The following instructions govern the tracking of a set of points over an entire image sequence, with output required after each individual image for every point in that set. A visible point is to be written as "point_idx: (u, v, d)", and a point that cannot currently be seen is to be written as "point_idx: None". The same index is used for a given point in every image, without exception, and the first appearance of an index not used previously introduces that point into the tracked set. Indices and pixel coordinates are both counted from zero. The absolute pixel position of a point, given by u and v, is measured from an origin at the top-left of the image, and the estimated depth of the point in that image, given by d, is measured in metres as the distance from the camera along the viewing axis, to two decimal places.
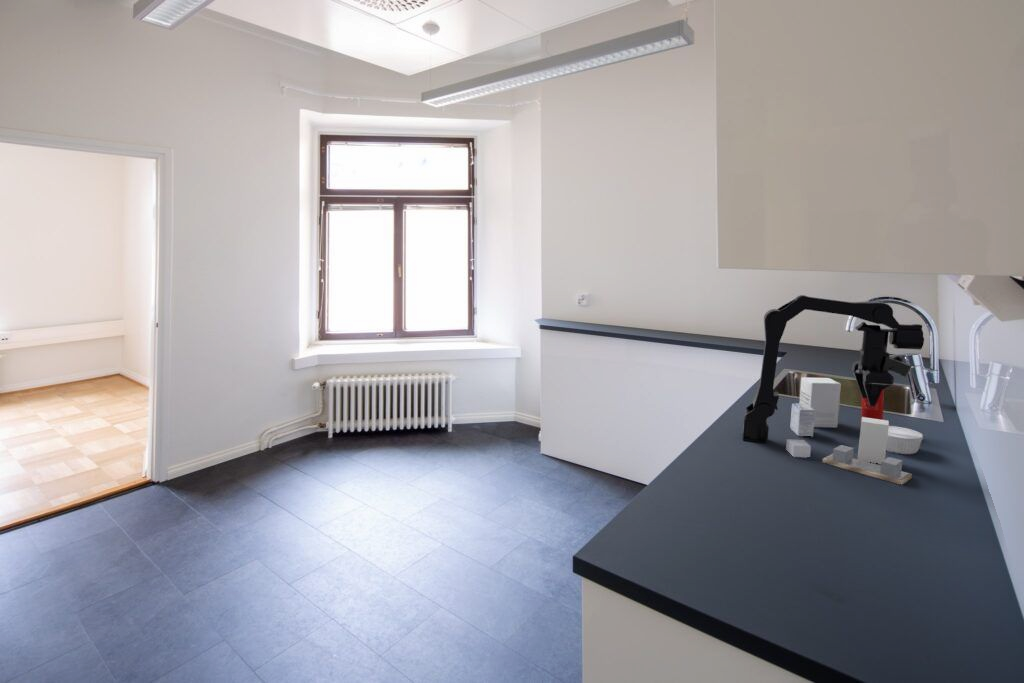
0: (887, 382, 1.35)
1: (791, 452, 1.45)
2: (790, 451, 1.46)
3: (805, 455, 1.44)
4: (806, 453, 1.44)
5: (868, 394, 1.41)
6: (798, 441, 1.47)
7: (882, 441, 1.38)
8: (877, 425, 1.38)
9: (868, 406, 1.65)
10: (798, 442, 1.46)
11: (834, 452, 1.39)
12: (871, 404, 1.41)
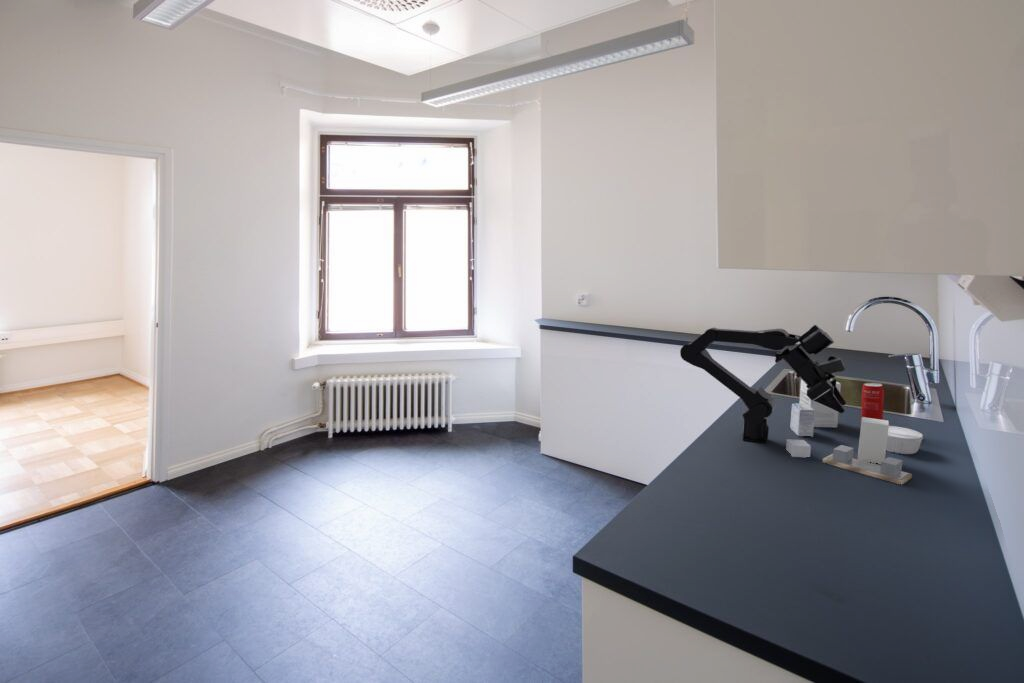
0: (825, 389, 1.38)
1: (791, 452, 1.45)
2: (790, 451, 1.46)
3: (805, 455, 1.44)
4: (806, 453, 1.44)
5: (828, 406, 1.41)
6: (798, 441, 1.47)
7: (882, 441, 1.38)
8: (877, 425, 1.38)
9: (868, 406, 1.65)
10: (798, 442, 1.46)
11: (834, 452, 1.39)
12: (840, 411, 1.41)
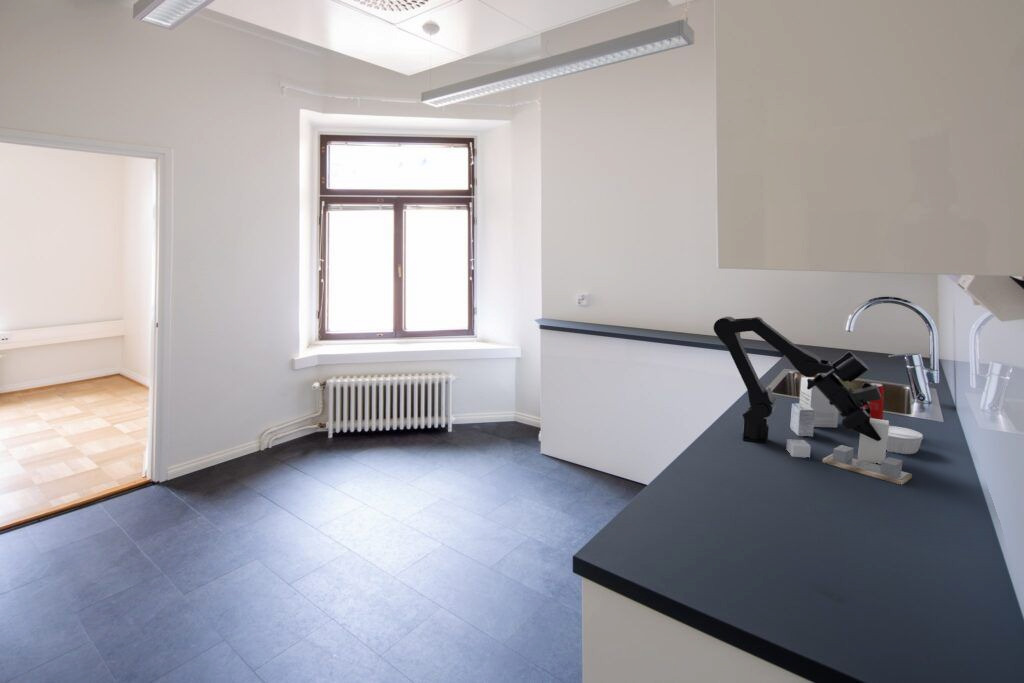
0: (862, 419, 1.34)
1: (791, 452, 1.45)
2: (790, 451, 1.46)
3: (805, 455, 1.44)
4: (806, 453, 1.44)
5: (864, 433, 1.39)
6: (798, 441, 1.47)
7: (882, 441, 1.38)
8: (878, 425, 1.38)
9: (868, 406, 1.65)
10: (798, 442, 1.46)
11: (834, 452, 1.39)
12: (877, 439, 1.38)
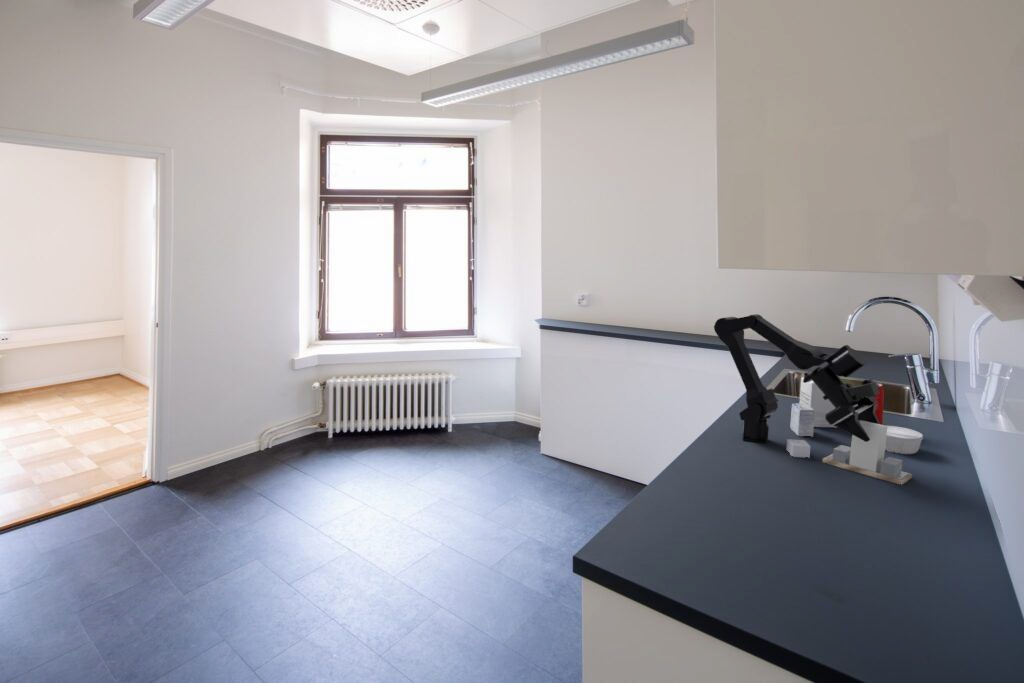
0: (843, 414, 1.30)
1: (790, 452, 1.45)
2: (790, 451, 1.46)
3: (804, 455, 1.44)
4: (805, 453, 1.44)
5: (851, 432, 1.32)
6: (798, 441, 1.47)
7: (873, 446, 1.31)
8: (869, 429, 1.31)
9: None
10: (798, 442, 1.46)
11: (834, 452, 1.39)
12: (865, 440, 1.30)
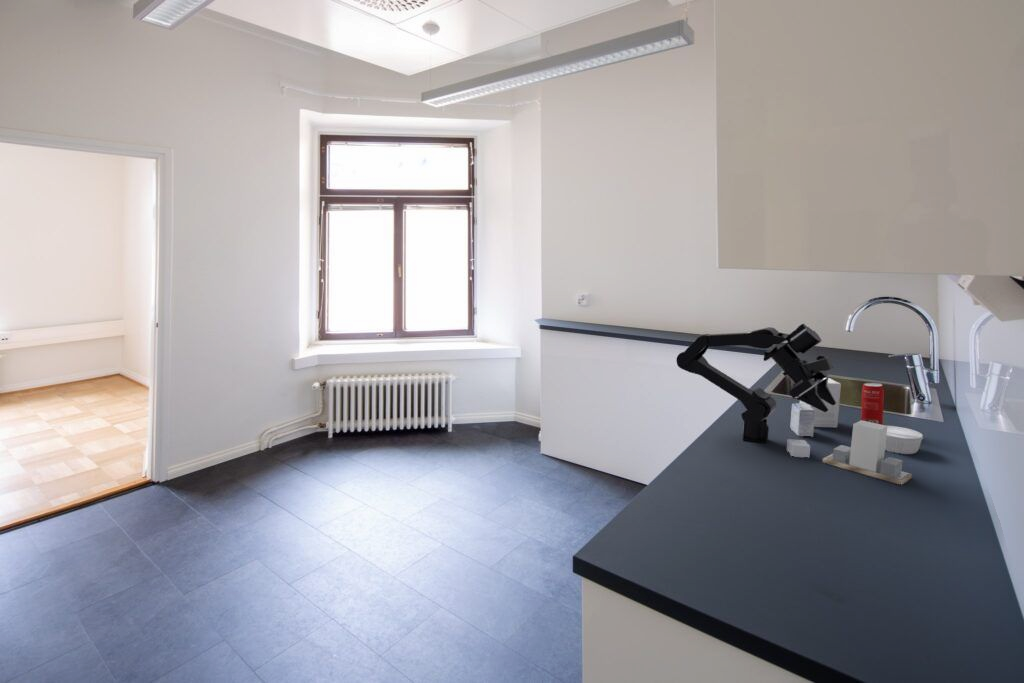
0: (806, 387, 1.39)
1: (790, 452, 1.46)
2: (789, 451, 1.46)
3: (804, 455, 1.44)
4: (805, 453, 1.44)
5: (811, 404, 1.42)
6: (798, 441, 1.47)
7: (873, 446, 1.31)
8: (869, 429, 1.31)
9: (868, 406, 1.65)
10: (798, 442, 1.46)
11: (834, 452, 1.39)
12: (823, 410, 1.41)
